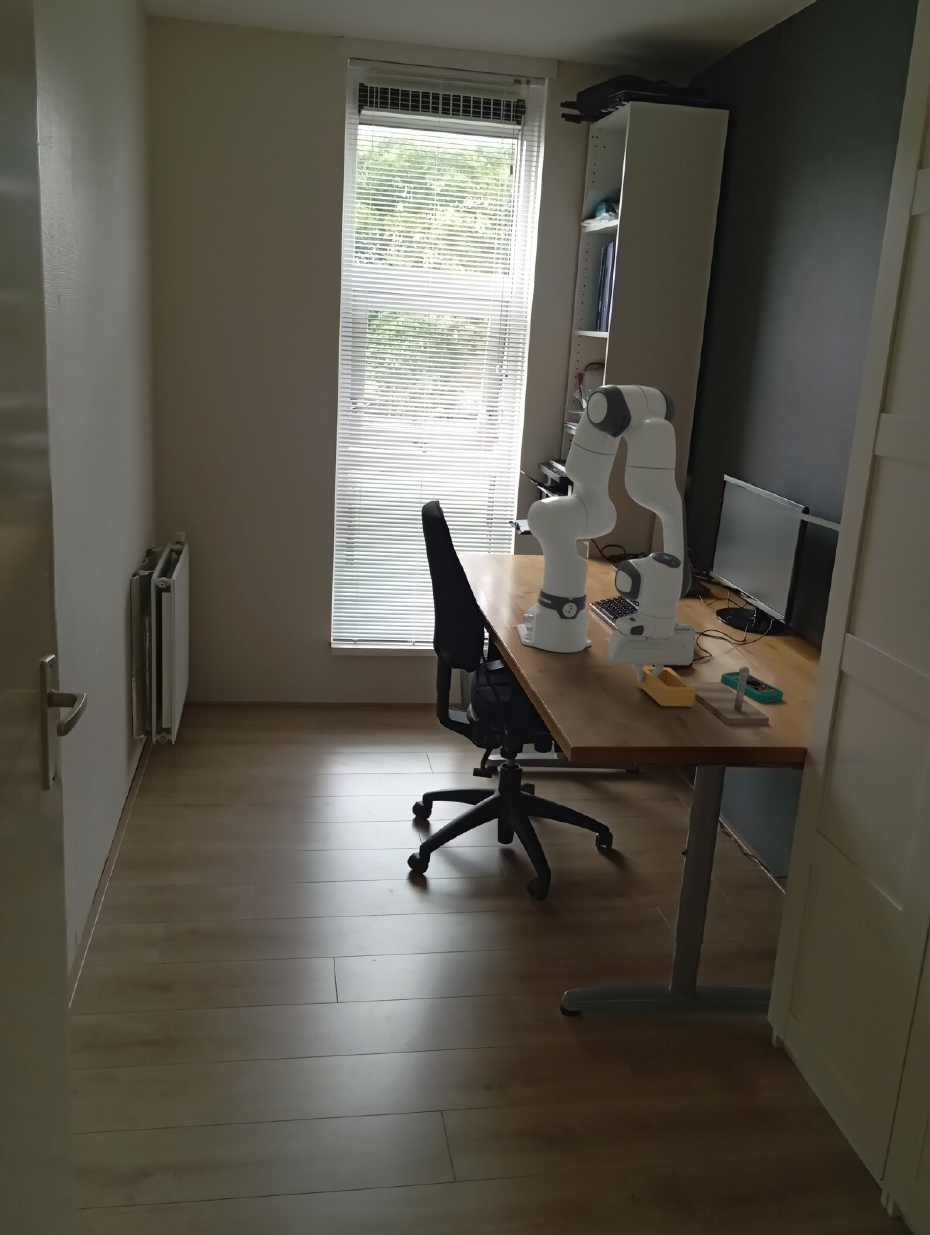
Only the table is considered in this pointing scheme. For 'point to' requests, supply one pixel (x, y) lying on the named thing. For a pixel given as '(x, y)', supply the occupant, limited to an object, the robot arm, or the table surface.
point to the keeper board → (729, 701)
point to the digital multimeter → (753, 687)
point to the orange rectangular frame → (667, 688)
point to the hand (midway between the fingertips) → (646, 681)
